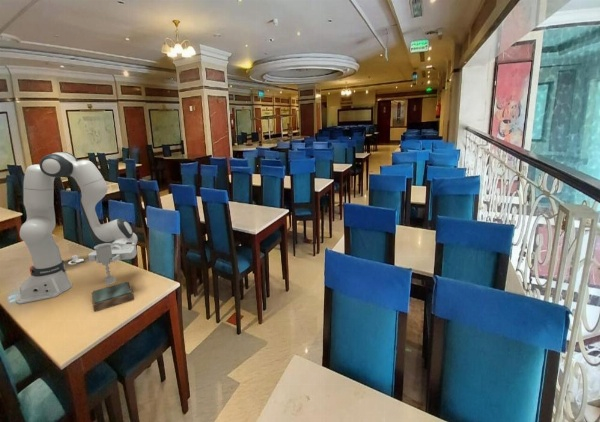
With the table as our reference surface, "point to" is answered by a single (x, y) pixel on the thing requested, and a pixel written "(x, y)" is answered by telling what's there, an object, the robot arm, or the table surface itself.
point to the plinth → (112, 296)
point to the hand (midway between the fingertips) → (104, 261)
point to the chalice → (105, 259)
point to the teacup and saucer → (76, 259)
